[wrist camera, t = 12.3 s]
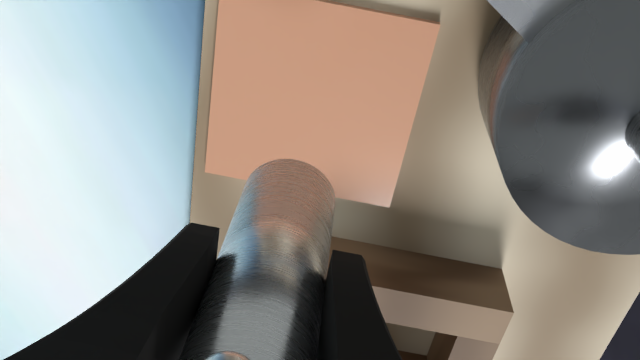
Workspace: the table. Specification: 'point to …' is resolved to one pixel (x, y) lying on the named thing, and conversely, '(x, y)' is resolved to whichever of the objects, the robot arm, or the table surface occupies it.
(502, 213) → the board
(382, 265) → the socket block
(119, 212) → the table surface
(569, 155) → the grey cylinder with handle
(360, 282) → the robot arm
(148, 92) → the table surface
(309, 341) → the key peg
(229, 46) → the tile
